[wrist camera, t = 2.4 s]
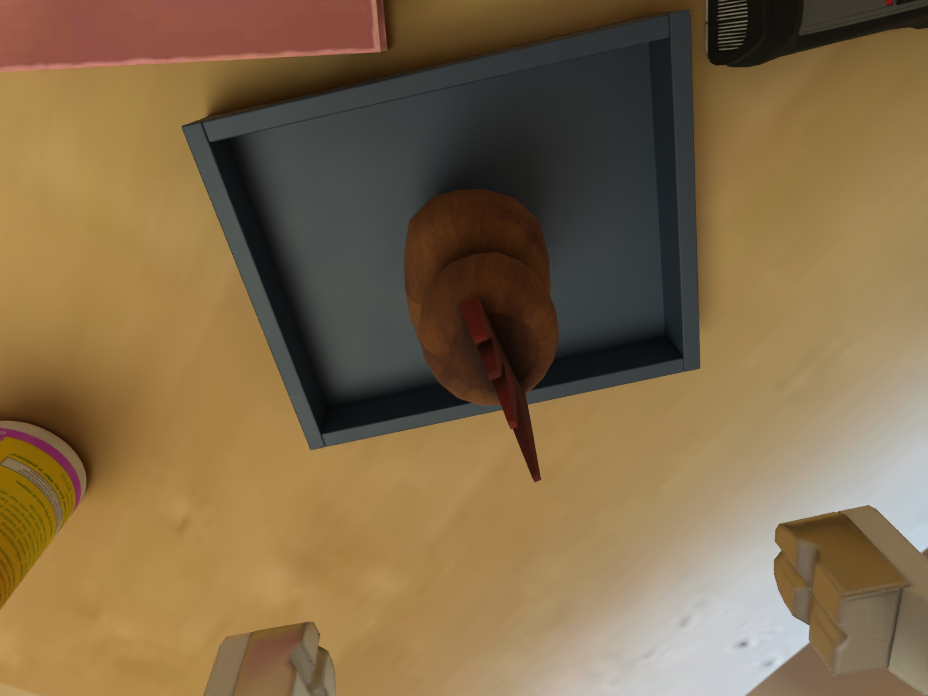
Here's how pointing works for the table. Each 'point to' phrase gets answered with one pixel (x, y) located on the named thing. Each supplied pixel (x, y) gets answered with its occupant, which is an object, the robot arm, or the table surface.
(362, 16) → the book
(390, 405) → the tray
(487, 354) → the wooden figurine
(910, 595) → the robot arm
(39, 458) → the supplement bottle
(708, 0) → the electric trimmer
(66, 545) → the table surface
